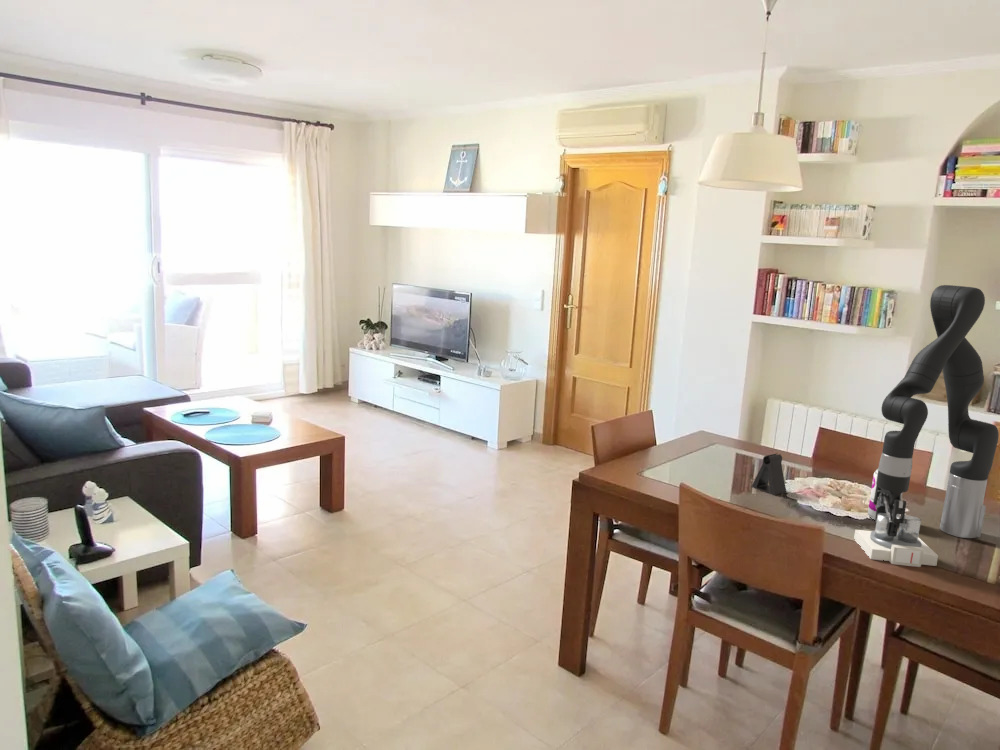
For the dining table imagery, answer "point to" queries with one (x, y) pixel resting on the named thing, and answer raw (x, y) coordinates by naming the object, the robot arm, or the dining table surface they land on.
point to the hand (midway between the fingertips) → (885, 529)
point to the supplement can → (872, 507)
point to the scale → (896, 550)
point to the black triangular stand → (770, 476)
